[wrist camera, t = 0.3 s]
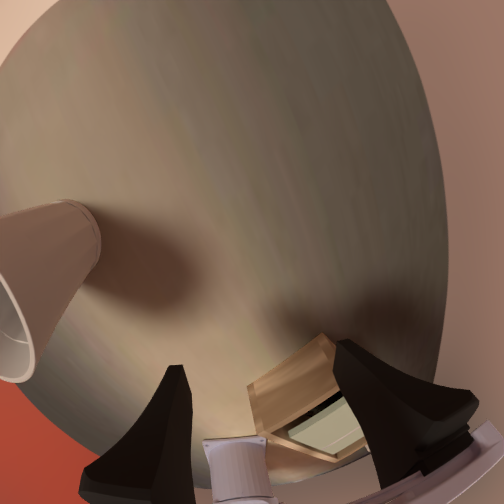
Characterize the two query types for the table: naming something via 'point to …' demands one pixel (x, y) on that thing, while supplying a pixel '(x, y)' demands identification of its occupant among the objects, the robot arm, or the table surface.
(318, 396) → the box
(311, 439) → the pale grey flat block
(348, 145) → the table surface
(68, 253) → the cup
